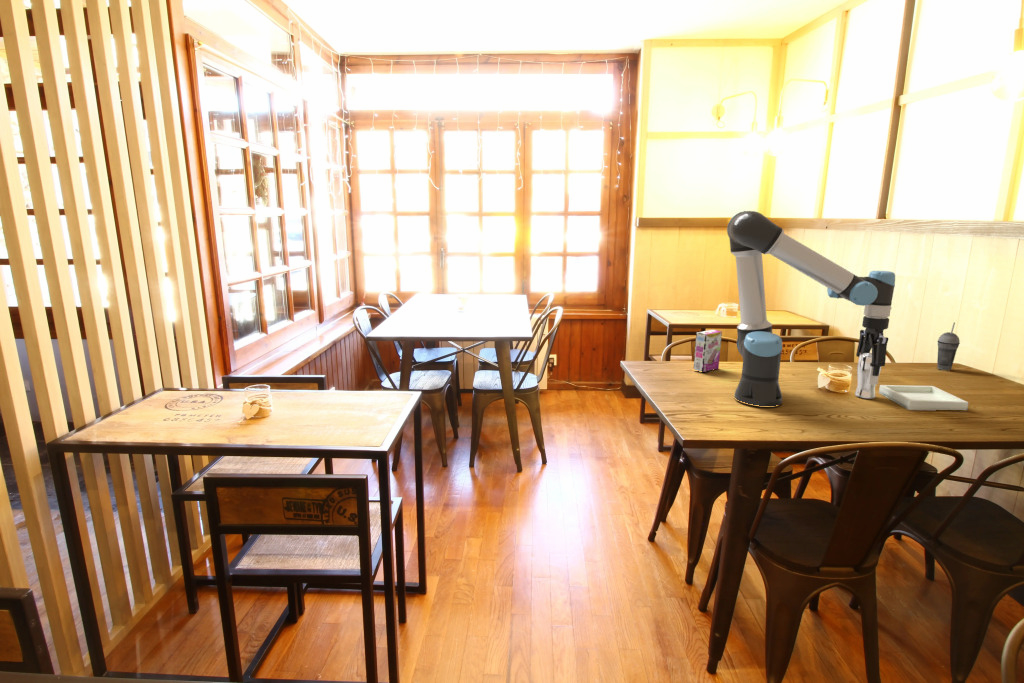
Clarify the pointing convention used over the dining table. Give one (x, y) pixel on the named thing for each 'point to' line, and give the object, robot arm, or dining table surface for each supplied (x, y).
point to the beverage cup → (947, 349)
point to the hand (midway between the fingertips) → (867, 381)
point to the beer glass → (864, 377)
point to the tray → (922, 397)
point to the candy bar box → (707, 350)
